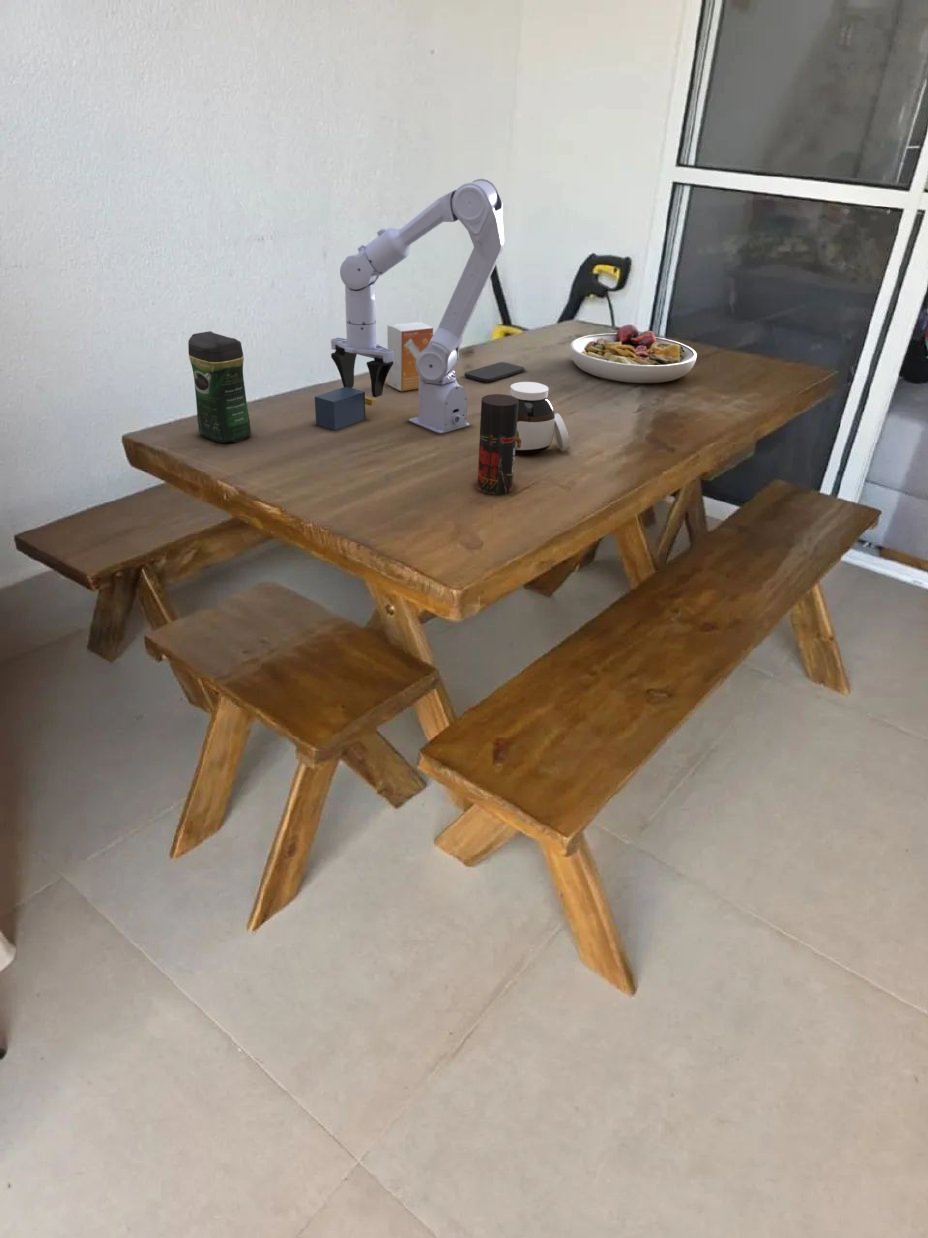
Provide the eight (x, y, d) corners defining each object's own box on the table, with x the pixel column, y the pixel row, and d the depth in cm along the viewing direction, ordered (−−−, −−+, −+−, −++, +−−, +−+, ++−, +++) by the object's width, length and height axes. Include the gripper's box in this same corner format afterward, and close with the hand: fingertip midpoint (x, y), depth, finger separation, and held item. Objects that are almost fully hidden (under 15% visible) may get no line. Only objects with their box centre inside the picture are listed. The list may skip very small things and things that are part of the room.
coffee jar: (258, 437, 159) (249, 335, 149) (223, 447, 154) (211, 343, 144) (227, 424, 165) (216, 325, 155) (192, 434, 159) (178, 332, 150)
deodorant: (475, 480, 145) (479, 393, 138) (510, 480, 146) (516, 394, 138) (479, 494, 140) (483, 405, 133) (514, 494, 141) (521, 405, 133)
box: (355, 410, 174) (354, 382, 171) (375, 416, 171) (375, 388, 168) (315, 424, 166) (313, 395, 163) (335, 430, 163) (334, 402, 160)
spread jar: (491, 444, 160) (495, 383, 154) (536, 433, 166) (541, 374, 160) (533, 465, 152) (539, 400, 146) (579, 452, 158) (586, 390, 152)
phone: (526, 367, 203) (487, 379, 193) (526, 371, 203) (487, 383, 193) (501, 361, 207) (462, 372, 197) (501, 364, 207) (462, 376, 197)
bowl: (705, 390, 195) (712, 355, 191) (575, 384, 195) (578, 349, 191) (679, 355, 221) (684, 324, 217) (563, 350, 221) (566, 319, 217)
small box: (401, 392, 186) (401, 330, 179) (387, 384, 190) (386, 324, 183) (432, 387, 190) (434, 327, 183) (418, 379, 194) (418, 320, 187)
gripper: (318, 318, 163) (322, 388, 171) (376, 331, 156) (377, 404, 164) (344, 312, 168) (346, 381, 176) (400, 325, 161) (400, 396, 169)
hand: (362, 391), depth 170 cm, fingers open, 7 cm apart
